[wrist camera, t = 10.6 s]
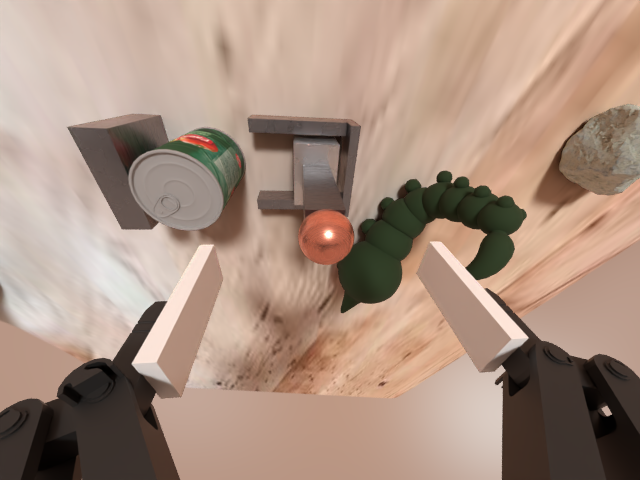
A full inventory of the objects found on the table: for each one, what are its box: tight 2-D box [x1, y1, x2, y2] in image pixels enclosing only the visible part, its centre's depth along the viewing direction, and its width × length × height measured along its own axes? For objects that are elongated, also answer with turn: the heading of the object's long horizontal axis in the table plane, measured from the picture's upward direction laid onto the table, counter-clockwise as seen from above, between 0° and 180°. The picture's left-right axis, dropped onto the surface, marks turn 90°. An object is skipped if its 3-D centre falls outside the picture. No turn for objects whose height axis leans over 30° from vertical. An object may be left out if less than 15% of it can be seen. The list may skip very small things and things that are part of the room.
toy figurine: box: [337, 171, 527, 313], centre depth 30 cm, size 9×19×25 cm
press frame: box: [67, 114, 361, 229], centre depth 26 cm, size 11×26×9 cm, turn 87°
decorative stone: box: [559, 104, 640, 195], centre depth 30 cm, size 13×11×10 cm
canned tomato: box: [129, 127, 245, 231], centre depth 25 cm, size 8×8×11 cm
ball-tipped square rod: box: [293, 134, 354, 265], centre depth 23 cm, size 7×5×20 cm
